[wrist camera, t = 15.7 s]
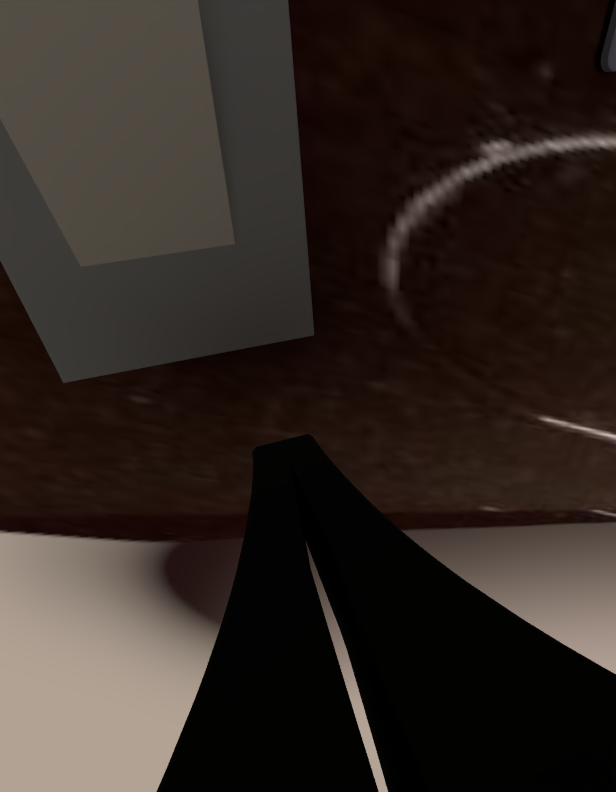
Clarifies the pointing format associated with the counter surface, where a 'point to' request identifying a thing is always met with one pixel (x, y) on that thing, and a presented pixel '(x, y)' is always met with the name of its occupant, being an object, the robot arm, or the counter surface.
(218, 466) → the counter surface
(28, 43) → the domino
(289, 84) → the mat
